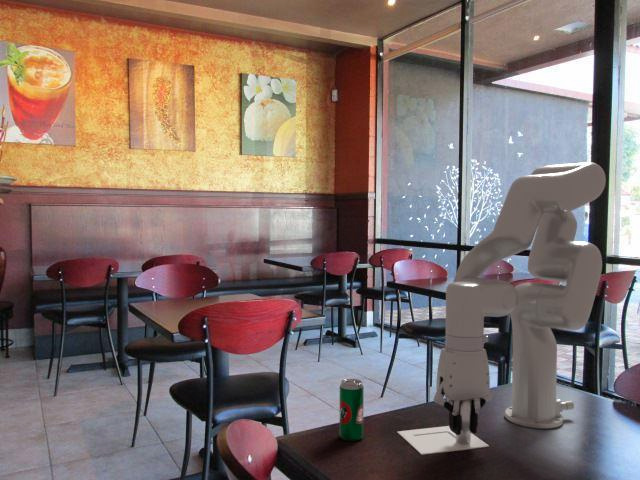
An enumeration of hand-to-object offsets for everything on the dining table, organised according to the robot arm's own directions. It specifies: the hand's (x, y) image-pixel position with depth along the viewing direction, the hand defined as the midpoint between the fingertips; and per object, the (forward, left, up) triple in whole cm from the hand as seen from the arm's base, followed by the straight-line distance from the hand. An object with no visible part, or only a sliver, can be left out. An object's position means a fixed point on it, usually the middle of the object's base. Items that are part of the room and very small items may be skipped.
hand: (463, 430), depth 115 cm
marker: (0, 0, -2) cm, 2 cm away
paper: (+3, -4, -3) cm, 5 cm away
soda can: (+21, -10, -3) cm, 23 cm away
